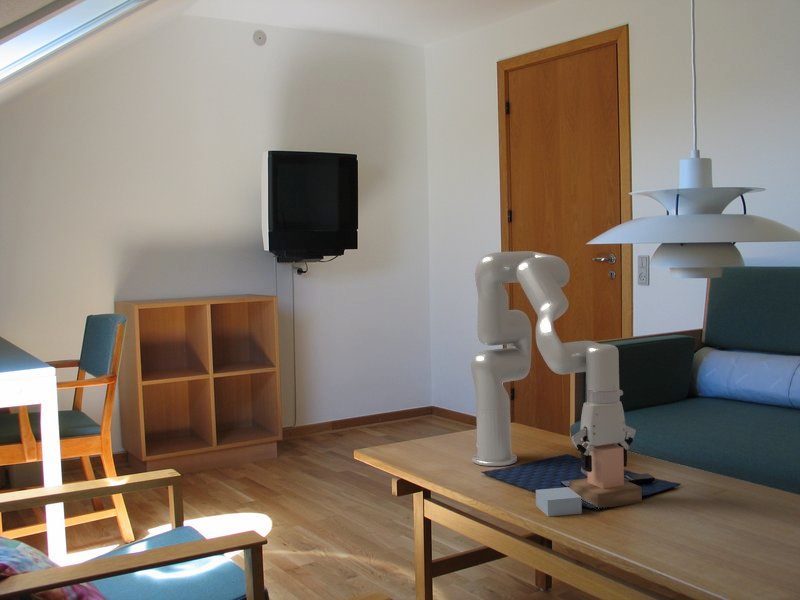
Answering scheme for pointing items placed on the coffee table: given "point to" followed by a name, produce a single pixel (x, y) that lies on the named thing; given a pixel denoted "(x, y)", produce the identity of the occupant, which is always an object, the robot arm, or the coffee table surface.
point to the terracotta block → (607, 466)
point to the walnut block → (607, 493)
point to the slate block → (558, 501)
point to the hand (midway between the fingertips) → (604, 468)
